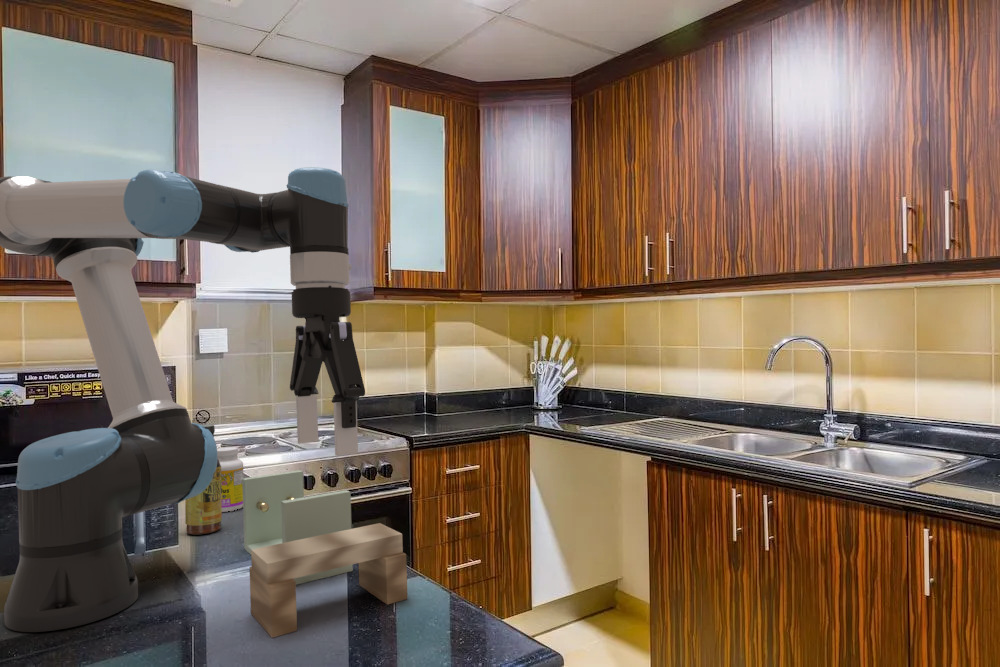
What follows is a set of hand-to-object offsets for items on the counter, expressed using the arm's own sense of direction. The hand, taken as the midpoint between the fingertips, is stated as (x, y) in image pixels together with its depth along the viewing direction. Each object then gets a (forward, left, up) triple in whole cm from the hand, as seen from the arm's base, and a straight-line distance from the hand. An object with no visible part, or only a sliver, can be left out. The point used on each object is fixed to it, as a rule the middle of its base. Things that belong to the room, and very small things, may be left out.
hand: (326, 448), depth 88 cm
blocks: (0, 0, -21) cm, 21 cm away
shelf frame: (+13, +18, -21) cm, 30 cm away
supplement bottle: (+34, +55, -21) cm, 68 cm away
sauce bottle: (+20, +46, -21) cm, 54 cm away
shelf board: (0, 0, -15) cm, 15 cm away
